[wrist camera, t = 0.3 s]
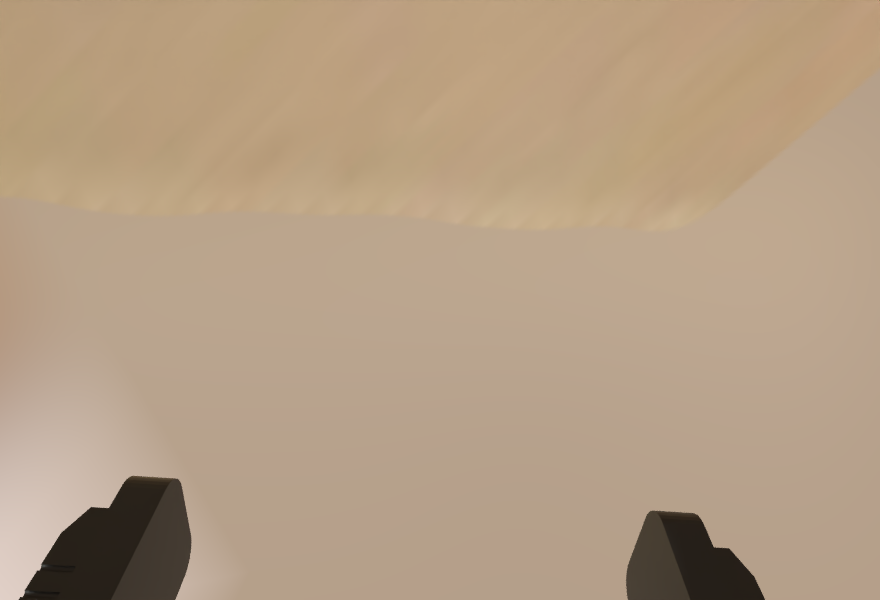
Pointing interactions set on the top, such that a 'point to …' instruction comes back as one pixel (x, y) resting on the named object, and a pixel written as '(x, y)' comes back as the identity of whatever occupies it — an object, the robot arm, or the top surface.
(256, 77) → the top surface
